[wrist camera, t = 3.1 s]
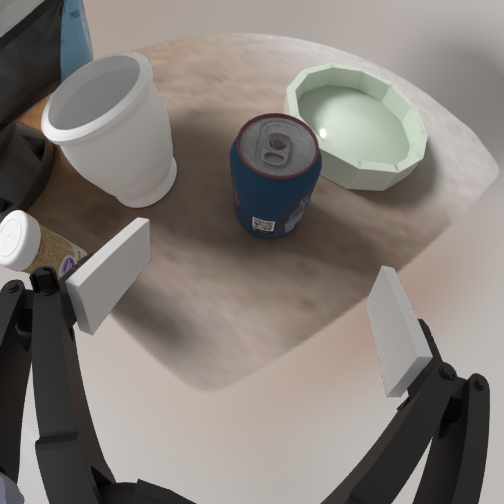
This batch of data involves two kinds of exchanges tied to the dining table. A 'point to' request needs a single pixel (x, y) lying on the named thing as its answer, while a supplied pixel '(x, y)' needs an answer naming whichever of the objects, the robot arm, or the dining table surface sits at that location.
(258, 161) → the soda can
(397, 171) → the bowl
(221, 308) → the dining table surface
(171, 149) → the jar
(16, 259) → the sprinkles bottle
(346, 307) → the dining table surface
